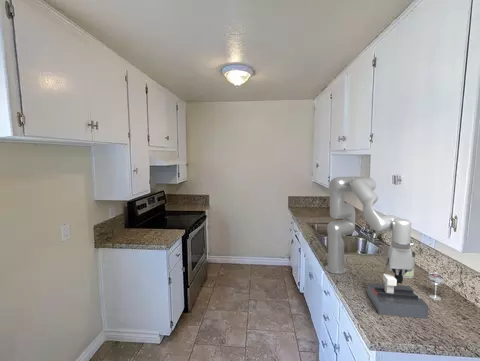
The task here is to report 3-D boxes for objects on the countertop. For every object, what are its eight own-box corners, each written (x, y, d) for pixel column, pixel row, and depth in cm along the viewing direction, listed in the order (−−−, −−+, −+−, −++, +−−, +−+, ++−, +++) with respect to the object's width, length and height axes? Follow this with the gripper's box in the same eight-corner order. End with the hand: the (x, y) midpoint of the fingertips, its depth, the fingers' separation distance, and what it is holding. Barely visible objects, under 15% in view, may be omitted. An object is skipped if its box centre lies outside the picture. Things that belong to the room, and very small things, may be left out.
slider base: (367, 294, 138) (367, 281, 137) (409, 297, 134) (409, 284, 133) (379, 314, 120) (379, 299, 119) (427, 318, 116) (428, 303, 116)
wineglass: (442, 302, 129) (444, 279, 128) (426, 297, 134) (427, 275, 133) (444, 297, 134) (445, 274, 133) (428, 292, 139) (429, 270, 137)
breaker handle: (382, 289, 130) (383, 273, 129) (391, 289, 130) (391, 274, 129) (386, 295, 124) (387, 279, 124) (395, 296, 124) (396, 279, 123)
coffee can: (391, 273, 162) (392, 251, 160) (399, 269, 167) (400, 248, 166) (409, 280, 153) (410, 256, 152) (417, 275, 158) (418, 253, 157)
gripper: (414, 243, 127) (411, 279, 128) (380, 241, 129) (379, 277, 131) (422, 248, 119) (419, 287, 121) (386, 246, 122) (384, 284, 123)
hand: (398, 282), depth 126 cm, fingers closed
